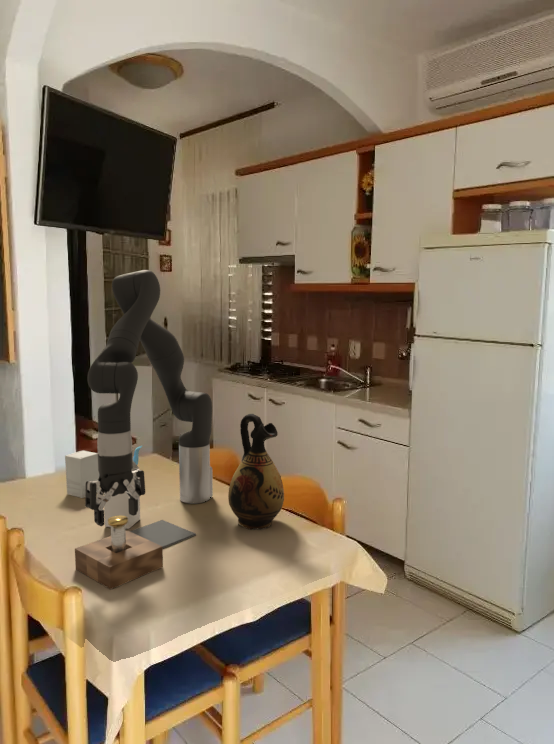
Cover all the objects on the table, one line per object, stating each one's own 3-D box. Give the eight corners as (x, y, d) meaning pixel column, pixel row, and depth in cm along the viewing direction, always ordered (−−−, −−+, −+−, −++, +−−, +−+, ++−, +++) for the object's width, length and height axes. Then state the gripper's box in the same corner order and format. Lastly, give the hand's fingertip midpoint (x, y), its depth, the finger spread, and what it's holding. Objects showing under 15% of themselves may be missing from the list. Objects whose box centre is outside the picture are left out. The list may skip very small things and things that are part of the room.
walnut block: (127, 549, 147) (126, 530, 147) (162, 566, 138) (162, 546, 137) (75, 569, 137) (74, 548, 136) (110, 589, 128) (109, 567, 127)
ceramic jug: (295, 522, 165) (296, 416, 161) (256, 539, 154) (256, 425, 150) (252, 506, 177) (252, 407, 173) (213, 521, 165) (211, 415, 161)
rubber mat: (162, 521, 165) (162, 519, 165) (195, 535, 156) (195, 533, 156) (119, 536, 155) (118, 535, 155) (152, 552, 146) (152, 550, 146)
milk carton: (129, 529, 160) (127, 460, 157) (104, 527, 161) (102, 458, 158) (140, 519, 167) (138, 453, 164) (116, 517, 168) (114, 451, 165)
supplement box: (100, 492, 189) (99, 453, 187) (81, 498, 183) (80, 458, 181) (85, 487, 193) (83, 449, 191) (66, 494, 187) (64, 455, 185)
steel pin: (122, 562, 141) (120, 514, 139) (133, 567, 138) (131, 518, 136) (105, 568, 137) (103, 519, 136) (116, 574, 134) (115, 524, 133)
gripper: (131, 441, 142) (133, 507, 144) (77, 453, 131) (79, 524, 133) (151, 447, 137) (152, 515, 139) (96, 459, 126) (98, 533, 128)
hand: (116, 519), depth 136 cm, fingers open, 8 cm apart
